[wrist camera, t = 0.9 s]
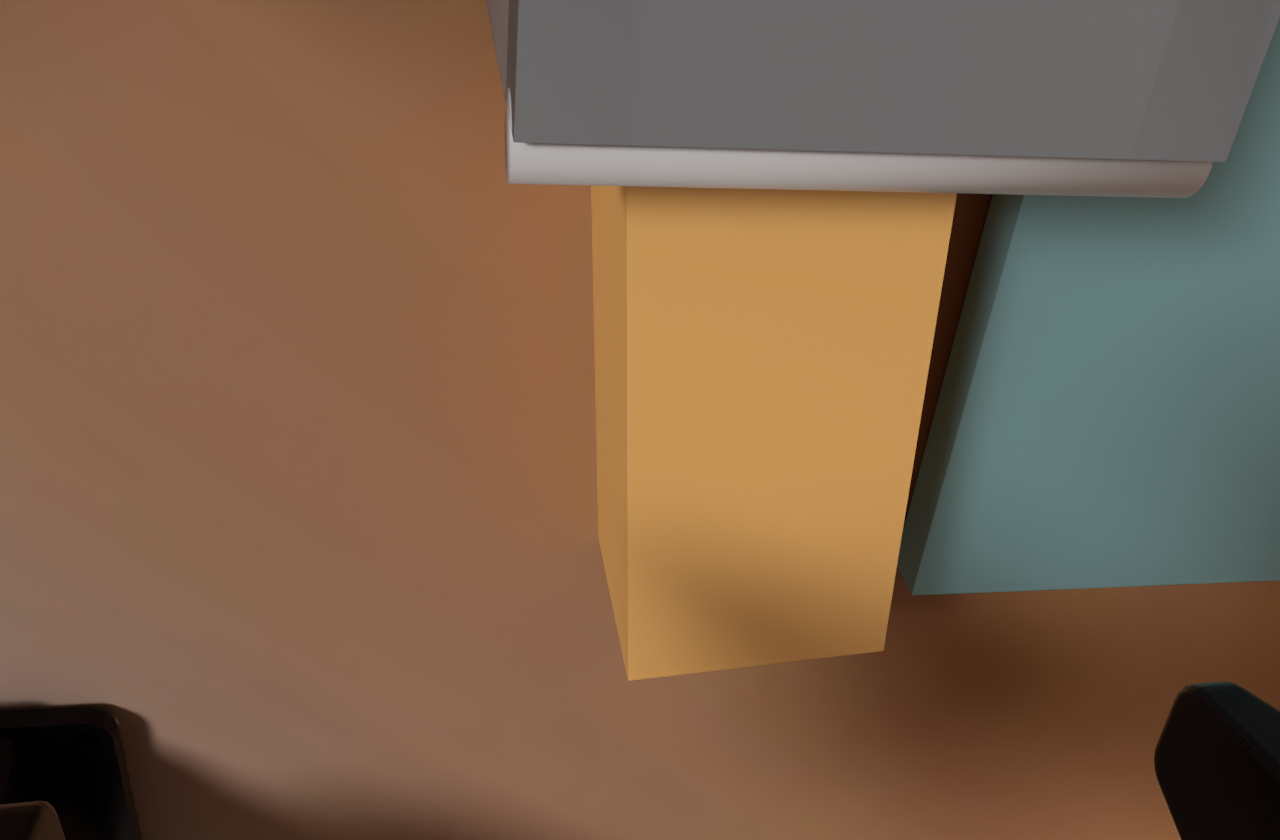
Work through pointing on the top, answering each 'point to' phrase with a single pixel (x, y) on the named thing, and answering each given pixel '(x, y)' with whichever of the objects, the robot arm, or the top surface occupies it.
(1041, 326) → the mat
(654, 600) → the tan rectangular slab
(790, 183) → the dispenser
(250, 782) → the top surface
